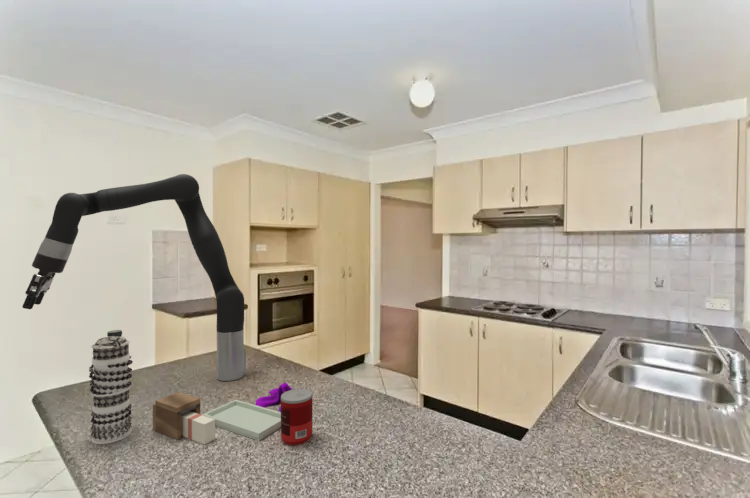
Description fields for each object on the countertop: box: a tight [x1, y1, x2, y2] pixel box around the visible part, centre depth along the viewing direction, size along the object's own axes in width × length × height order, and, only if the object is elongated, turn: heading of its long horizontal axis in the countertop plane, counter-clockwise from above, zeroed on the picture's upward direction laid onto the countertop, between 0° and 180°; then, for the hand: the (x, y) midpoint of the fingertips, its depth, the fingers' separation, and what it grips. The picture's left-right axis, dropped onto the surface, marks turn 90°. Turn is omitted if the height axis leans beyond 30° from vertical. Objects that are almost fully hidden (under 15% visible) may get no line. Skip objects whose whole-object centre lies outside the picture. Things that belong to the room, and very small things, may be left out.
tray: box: [202, 399, 281, 442], centre depth 105 cm, size 12×22×2 cm, turn 61°
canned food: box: [280, 388, 313, 446], centre depth 97 cm, size 8×8×11 cm
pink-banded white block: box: [181, 411, 216, 445], centre depth 98 cm, size 3×14×5 cm, turn 61°
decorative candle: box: [88, 336, 133, 445], centre depth 97 cm, size 9×9×25 cm
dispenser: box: [152, 391, 201, 440], centre depth 101 cm, size 7×10×8 cm, turn 61°
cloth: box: [255, 382, 293, 412], centre depth 120 cm, size 22×19×6 cm
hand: (31, 306), depth 115 cm, fingers open, 8 cm apart
